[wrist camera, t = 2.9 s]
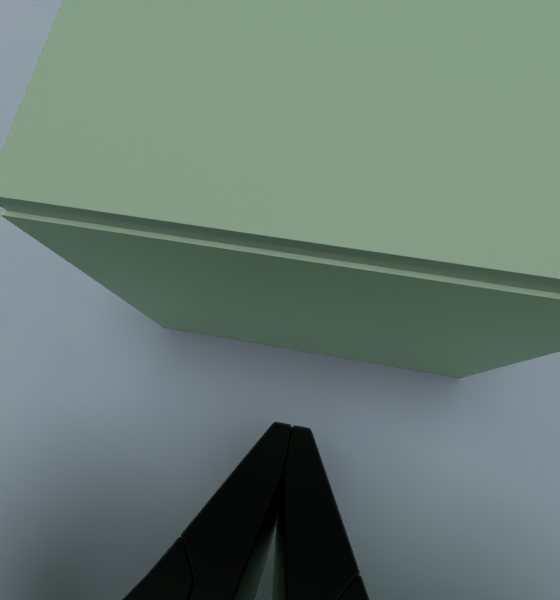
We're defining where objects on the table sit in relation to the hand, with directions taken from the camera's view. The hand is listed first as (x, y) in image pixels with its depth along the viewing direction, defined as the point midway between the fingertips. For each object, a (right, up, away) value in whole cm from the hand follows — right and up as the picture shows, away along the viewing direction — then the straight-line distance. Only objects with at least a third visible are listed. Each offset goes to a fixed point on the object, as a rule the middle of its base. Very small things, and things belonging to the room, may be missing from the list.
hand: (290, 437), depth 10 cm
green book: (+1, +4, +8) cm, 9 cm away
